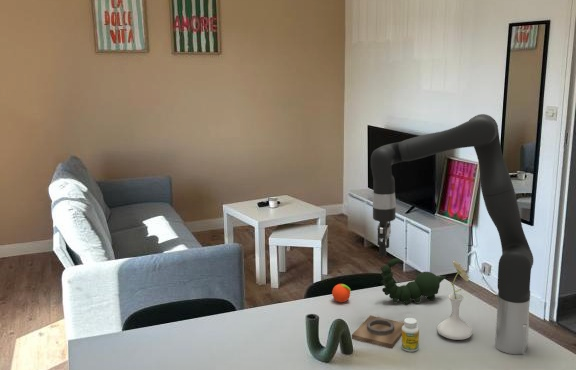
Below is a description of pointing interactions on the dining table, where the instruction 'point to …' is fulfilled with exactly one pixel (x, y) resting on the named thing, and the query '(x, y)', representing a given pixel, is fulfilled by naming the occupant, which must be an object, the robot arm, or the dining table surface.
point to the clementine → (341, 293)
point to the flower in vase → (455, 313)
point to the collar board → (376, 338)
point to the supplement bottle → (410, 335)
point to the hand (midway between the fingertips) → (384, 251)
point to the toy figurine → (410, 285)
